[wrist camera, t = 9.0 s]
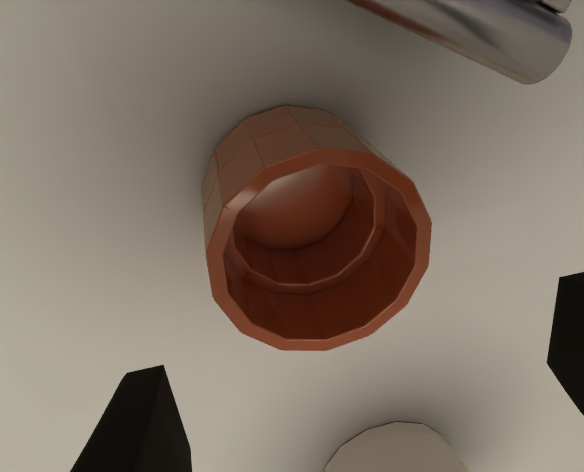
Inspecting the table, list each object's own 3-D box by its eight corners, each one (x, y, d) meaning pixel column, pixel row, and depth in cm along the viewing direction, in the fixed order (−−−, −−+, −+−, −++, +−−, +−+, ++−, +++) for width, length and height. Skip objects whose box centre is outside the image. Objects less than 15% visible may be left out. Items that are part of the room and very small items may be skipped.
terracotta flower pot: (396, 135, 17) (471, 189, 12) (328, 278, 19) (371, 369, 14) (237, 74, 15) (257, 111, 10) (180, 239, 17) (178, 329, 12)
